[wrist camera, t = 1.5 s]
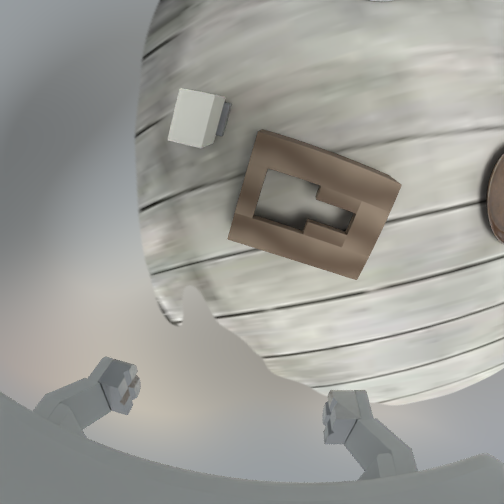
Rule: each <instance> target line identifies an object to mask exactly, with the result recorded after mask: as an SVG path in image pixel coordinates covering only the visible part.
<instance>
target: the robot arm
mask: <svg viewBox="0 0 504 504" xmlns="http://www.w3.org/2000/svg"><path fill="white" fill-rule="evenodd" d="M371 1H392V0H371ZM137 372H138V371H137V367H136V365H134V364H130V363H127V362H123V361H120V360H116V359H112V358H109V357H104V358H102V360H101V361H100V362H99V364H98V365H97V367H96V368H95V369H94V371H93V372H92V373H91V375H90V376H89V377H88V379H87V378H83V379H81V380H79V381H77V382H74V383H72V384H69V385H67V386H65V387H62V388H60V389H58V390H55V391H53V392H50V393H48V394H46V395H45V396H44V397H43V398H42V400H41V401H40V402H39V403H38V405H37V406H36V407H35V409H34V410H33V411H31V410H29V409H27V408H26V407H24V406H22V405H21V404H19V403H17V402H16V401H14V400H12V399H11V398H9V397H8V396H6V395H5V394H3V393H2V392H0V504H504V463H502V462H501V461H500V460H498V459H496V458H495V457H494V456H492V455H490V454H488V453H482V454H479V455H476V456H473V457H470V458H467V459H463V460H460V461H457V462H454V463H450V464H446V465H443V466H439V467H435V468H431V469H427V470H422V471H418V470H417V466H416V463H415V459H414V455H413V452H412V449H411V448H410V447H409V446H408V445H406V444H405V443H404V442H403V441H402V440H401V439H399V438H398V437H397V436H396V435H395V434H394V433H393V432H391V431H390V430H389V429H388V428H387V427H386V426H384V425H383V424H382V423H381V422H380V421H379V420H378V419H374V418H373V415H372V410H371V407H370V403H369V399H368V395H367V392H366V391H365V390H354V391H353V390H330V392H329V394H328V402H326V403H325V405H324V410H323V424H324V425H325V426H326V427H325V430H324V442H325V444H344V446H345V447H346V448H347V449H348V451H349V452H350V453H351V454H352V456H353V457H354V458H355V459H356V461H357V462H358V463H359V464H360V466H361V467H362V468H363V469H364V471H365V472H364V473H363V474H362V476H361V477H360V478H359V479H358V480H357V481H344V482H325V483H323V482H322V483H292V482H271V481H257V480H248V479H239V478H231V477H224V476H217V475H211V474H206V473H200V472H195V471H191V470H186V469H181V468H177V467H172V466H169V465H164V464H161V463H157V462H154V461H150V460H146V459H143V458H140V457H136V456H133V455H130V454H128V453H124V452H122V451H119V450H116V449H113V448H110V447H108V446H105V445H103V444H100V443H97V442H95V441H92V440H90V439H88V438H87V437H86V436H85V434H84V432H83V431H82V430H83V429H84V428H86V427H87V426H89V425H91V424H92V423H94V422H95V421H97V420H98V419H100V418H101V417H103V416H104V415H106V414H108V413H109V412H110V411H115V412H118V413H122V414H125V415H128V413H129V412H130V410H131V408H132V406H133V403H132V400H133V399H135V398H137V396H138V394H139V392H140V378H139V377H138V376H137V375H136V373H137Z"/></svg>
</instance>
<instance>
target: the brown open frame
mask: <svg viewBox="0 0 504 504" xmlns="http://www.w3.org/2000/svg"><path fill="white" fill-rule="evenodd" d="M268 168H269V169H272V170H275V171H279V172H282V173H285V174H288V175H291V176H294V177H297V178H300V179H303V180H306V181H309V182H312V183H315V184H317V185H320V186H319V189H318V192H317V194H316V200H319V201H322V202H325V203H328V204H331V205H333V206H336V207H339V208H342V209H344V210H347V211H350V212H353V216H352V218H351V220H350V223H349V225H348V227H347V230H346V232H345V231H342V230H340V229H337V228H334V227H331V226H328V225H325V224H322V223H319V222H317V221H314V220H311V219H308V218H307V221H306V223H305V226H304V229H303V231H302V230H299V229H296V228H293V227H290V226H287V225H284V224H281V223H278V222H275V221H271V220H268V219H265V218H262V217H259V216H256V215H254V212H255V209H256V205H257V202H258V199H259V196H260V192H261V189H262V186H263V183H264V179H265V176H266V173H267V170H268ZM400 188H401V184H400V183H398V182H397V181H396V180H394V179H393V178H392V177H390V176H389V175H387V174H385V173H382V172H380V171H378V170H375V169H373V168H371V167H368V166H366V165H363V164H361V163H359V162H356V161H354V160H351V159H348V158H346V157H343V156H341V155H338V154H335V153H333V152H330V151H327V150H325V149H322V148H319V147H316V146H313V145H310V144H308V143H305V142H302V141H299V140H296V139H293V138H289V137H286V136H283V135H280V134H277V133H273V132H270V131H267V130H263V129H262V130H260V131H258V133H257V136H256V140H255V143H254V147H253V150H252V153H251V157H250V160H249V164H248V167H247V171H246V174H245V178H244V181H243V185H242V188H241V192H240V195H239V199H238V202H237V206H236V210H235V213H234V217H233V221H232V224H231V228H230V232H229V235H228V240H232V241H235V242H238V243H241V244H244V245H247V246H251V247H254V248H257V249H260V250H263V251H267V252H270V253H273V254H276V255H279V256H282V257H286V258H289V259H292V260H295V261H298V262H301V263H304V264H308V265H311V266H314V267H317V268H320V269H323V270H327V271H330V272H333V273H336V274H339V275H342V276H345V277H348V278H352V279H355V280H357V279H358V277H359V275H360V273H361V271H362V269H363V267H364V265H365V263H366V262H367V260H368V258H369V256H370V254H371V252H372V250H373V247H374V245H375V243H376V241H377V239H378V237H379V235H380V233H381V231H382V229H383V226H384V224H385V222H386V220H387V218H388V216H389V213H390V211H391V209H392V207H393V204H394V202H395V200H396V197H397V195H398V193H399V190H400Z"/></svg>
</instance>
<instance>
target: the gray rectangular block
mask: <svg viewBox="0 0 504 504" xmlns="http://www.w3.org/2000/svg"><path fill="white" fill-rule="evenodd" d="M225 98H226V97H224V96H220V95H215V94H210V93H205V92H200V91H195V90H189V89H183V88H180V89H179V93H178V97H177V101H176V105H175V109H174V113H173V117H172V122H171V126H170V131H169V135H168V141H172V142H176V143H181V144H185V145H189V146H193V147H197V148H204V147H206V146H208V145H211V144H213V142H214V138H215V135H218V136H223V134H224V131H225V127H226V123H227V120H228V116H229V113H230V109H231V105H232V104H230V103H226V102H224V101H225Z"/></svg>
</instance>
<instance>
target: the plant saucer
mask: <svg viewBox="0 0 504 504" xmlns="http://www.w3.org/2000/svg"><path fill="white" fill-rule="evenodd" d="M487 213H488V218H489V222H490V226H491V229H492V231H493V233H494V235H495V236H496V238H497V239H498V240H499V241H500V242H501V243H502V244H504V153H503V154H502V155H501V157H500V158H499V160H498V161H497V163H496V164H495V166H494V168H493V171H492V173H491V176H490V179H489V183H488V189H487Z"/></svg>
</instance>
